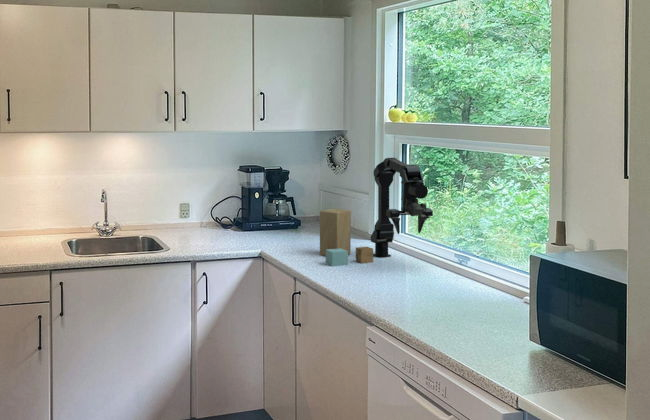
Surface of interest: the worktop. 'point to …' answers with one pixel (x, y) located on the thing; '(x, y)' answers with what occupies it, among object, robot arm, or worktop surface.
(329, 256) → the teal block
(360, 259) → the walnut cube
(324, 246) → the wooden block
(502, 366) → the worktop surface
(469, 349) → the worktop surface
